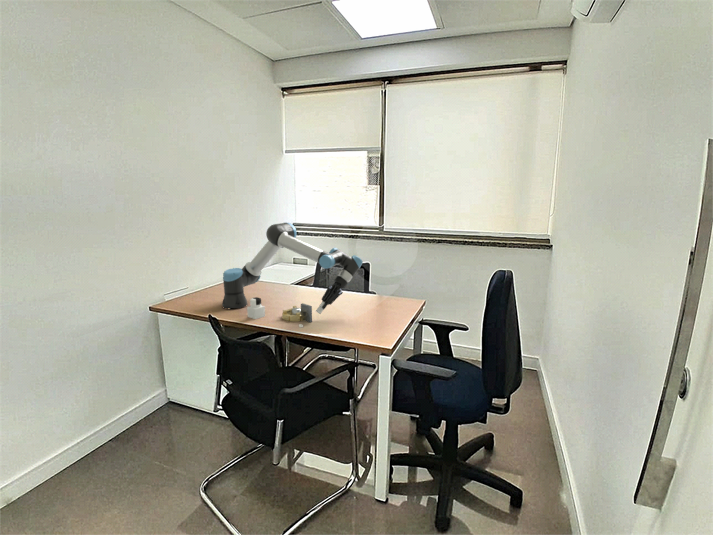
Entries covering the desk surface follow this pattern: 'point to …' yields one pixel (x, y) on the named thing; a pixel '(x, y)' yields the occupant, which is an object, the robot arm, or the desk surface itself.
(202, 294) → the desk surface
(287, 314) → the block with gold ring
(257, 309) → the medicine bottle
